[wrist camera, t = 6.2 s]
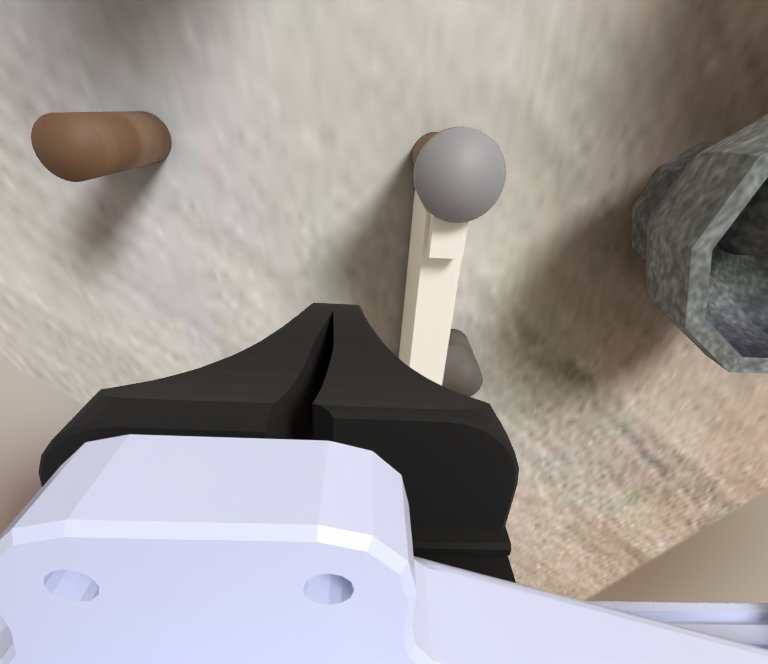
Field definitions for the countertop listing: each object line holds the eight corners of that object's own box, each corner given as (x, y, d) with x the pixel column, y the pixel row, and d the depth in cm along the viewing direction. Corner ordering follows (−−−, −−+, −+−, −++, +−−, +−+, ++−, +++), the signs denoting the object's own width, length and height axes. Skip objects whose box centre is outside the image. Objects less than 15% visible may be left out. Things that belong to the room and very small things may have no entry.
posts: (165, 349, 23) (110, 413, 18) (118, 109, 18) (22, 110, 13) (464, 361, 24) (488, 426, 19) (505, 136, 19) (552, 147, 14)
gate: (406, 119, 18) (420, 124, 13) (471, 124, 18) (514, 131, 13) (385, 368, 24) (390, 445, 18) (436, 370, 24) (454, 447, 18)
